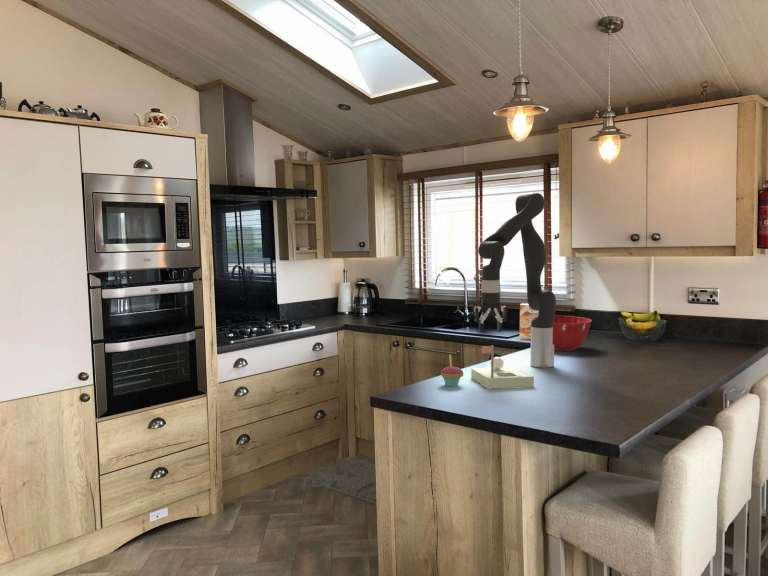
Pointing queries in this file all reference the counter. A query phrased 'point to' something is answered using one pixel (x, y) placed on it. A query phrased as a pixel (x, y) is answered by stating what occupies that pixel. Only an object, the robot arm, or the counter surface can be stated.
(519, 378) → the board
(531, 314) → the coffeecake box
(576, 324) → the mixing bowl
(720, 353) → the counter surface
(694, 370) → the counter surface
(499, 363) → the ball
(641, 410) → the counter surface
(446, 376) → the cupcake
